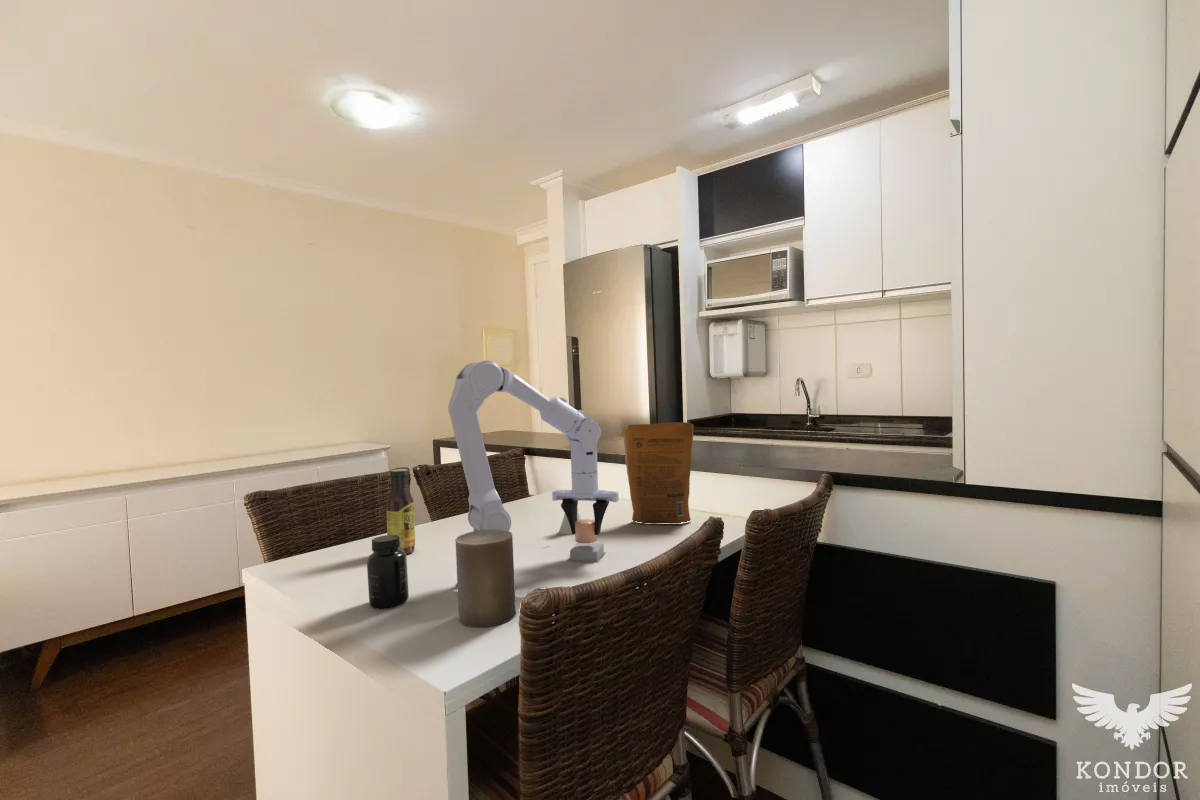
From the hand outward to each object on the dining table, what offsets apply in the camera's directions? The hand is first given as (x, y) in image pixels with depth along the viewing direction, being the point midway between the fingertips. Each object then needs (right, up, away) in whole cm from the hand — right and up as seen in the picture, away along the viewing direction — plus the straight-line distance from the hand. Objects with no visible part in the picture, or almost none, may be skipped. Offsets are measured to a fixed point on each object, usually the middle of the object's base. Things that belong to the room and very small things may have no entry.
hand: (586, 533), depth 121 cm
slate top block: (0, -5, 0) cm, 5 cm away
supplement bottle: (-36, -8, -19) cm, 41 cm away
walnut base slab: (0, -7, 0) cm, 7 cm away
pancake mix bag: (+20, -5, +32) cm, 38 cm away
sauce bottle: (-44, -8, +12) cm, 46 cm away
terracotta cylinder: (0, -2, 0) cm, 2 cm away
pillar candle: (-16, -8, -26) cm, 32 cm away
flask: (-4, -6, +22) cm, 23 cm away
